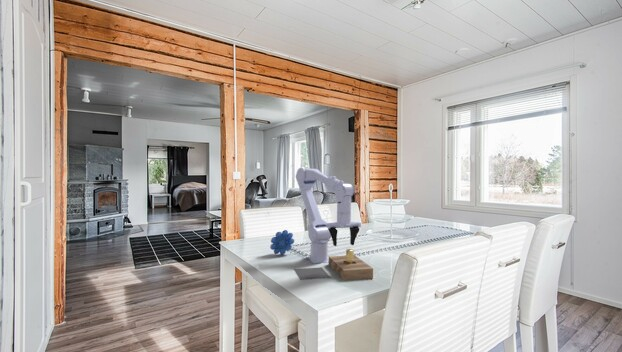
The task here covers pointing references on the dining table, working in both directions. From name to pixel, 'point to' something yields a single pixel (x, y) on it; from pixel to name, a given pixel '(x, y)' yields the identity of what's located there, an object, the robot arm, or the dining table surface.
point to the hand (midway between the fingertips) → (343, 245)
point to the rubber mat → (311, 273)
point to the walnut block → (350, 268)
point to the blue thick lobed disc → (282, 242)
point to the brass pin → (349, 256)
